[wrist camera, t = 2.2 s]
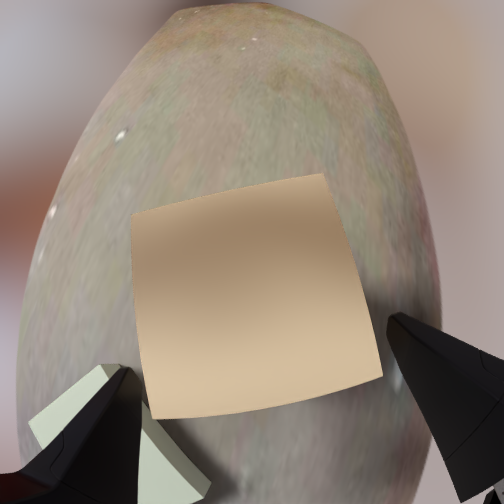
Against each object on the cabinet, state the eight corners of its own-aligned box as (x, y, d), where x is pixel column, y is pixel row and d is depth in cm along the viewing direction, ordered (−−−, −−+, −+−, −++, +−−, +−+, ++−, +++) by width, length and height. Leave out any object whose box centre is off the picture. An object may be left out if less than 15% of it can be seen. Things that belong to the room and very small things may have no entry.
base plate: (211, 482, 14) (203, 497, 11) (118, 519, 12) (105, 530, 10) (118, 363, 17) (100, 363, 15) (46, 419, 15) (28, 422, 13)
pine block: (311, 360, 17) (383, 375, 5) (228, 377, 17) (152, 419, 5) (293, 280, 19) (322, 173, 7) (213, 297, 18) (131, 214, 7)
